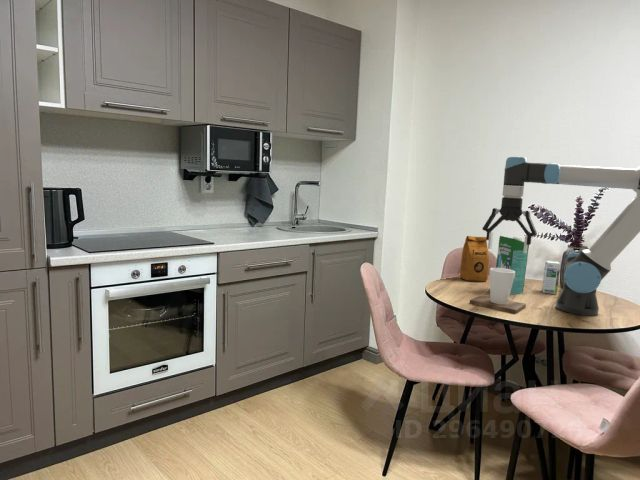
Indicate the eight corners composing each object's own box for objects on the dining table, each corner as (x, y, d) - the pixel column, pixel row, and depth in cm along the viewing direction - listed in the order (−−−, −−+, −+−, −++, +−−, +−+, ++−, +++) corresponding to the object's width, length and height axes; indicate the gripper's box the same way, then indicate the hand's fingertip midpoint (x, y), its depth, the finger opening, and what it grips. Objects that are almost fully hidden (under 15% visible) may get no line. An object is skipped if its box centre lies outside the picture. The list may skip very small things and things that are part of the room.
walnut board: (525, 307, 194) (525, 303, 194) (515, 313, 184) (516, 310, 183) (481, 298, 205) (481, 294, 205) (469, 303, 195) (469, 299, 194)
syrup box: (543, 292, 222) (547, 261, 220) (541, 290, 228) (545, 259, 226) (556, 294, 220) (560, 263, 218) (555, 291, 226) (559, 261, 224)
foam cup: (484, 302, 192) (488, 270, 190) (488, 297, 200) (491, 266, 198) (510, 306, 188) (514, 273, 186) (512, 301, 196) (516, 270, 194)
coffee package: (489, 283, 236) (494, 238, 233) (464, 281, 235) (469, 237, 232) (481, 278, 246) (486, 235, 243) (457, 277, 245) (462, 234, 242)
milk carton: (523, 293, 218) (530, 238, 215) (507, 294, 215) (514, 238, 211) (508, 288, 227) (515, 235, 223) (493, 289, 223) (499, 235, 220)
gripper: (548, 199, 186) (542, 253, 188) (483, 195, 200) (478, 245, 203) (544, 199, 180) (538, 256, 182) (477, 195, 194) (472, 247, 197)
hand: (507, 250), depth 193 cm, fingers open, 13 cm apart
